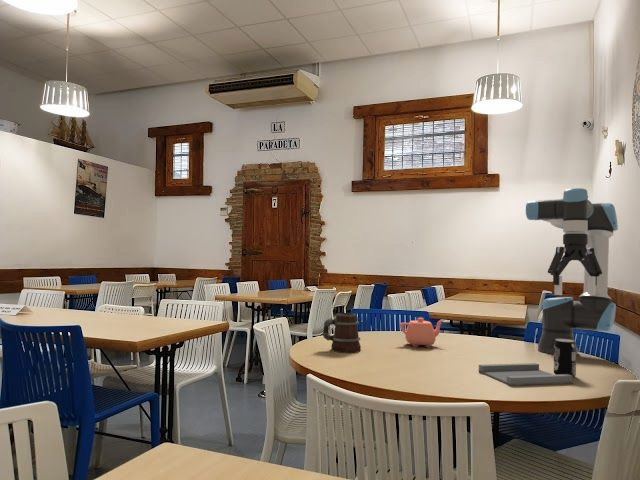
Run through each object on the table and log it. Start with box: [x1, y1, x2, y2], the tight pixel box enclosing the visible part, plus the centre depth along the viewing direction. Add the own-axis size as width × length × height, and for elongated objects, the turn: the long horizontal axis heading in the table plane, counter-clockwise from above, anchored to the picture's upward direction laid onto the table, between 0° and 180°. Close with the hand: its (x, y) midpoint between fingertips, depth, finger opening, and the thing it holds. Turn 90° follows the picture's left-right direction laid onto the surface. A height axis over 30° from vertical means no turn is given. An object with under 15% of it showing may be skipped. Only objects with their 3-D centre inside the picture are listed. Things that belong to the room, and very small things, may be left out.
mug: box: [321, 312, 362, 354], centre depth 196 cm, size 16×12×15 cm
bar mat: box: [478, 362, 574, 387], centre depth 156 cm, size 22×18×2 cm
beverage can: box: [553, 339, 577, 378], centre depth 160 cm, size 7×7×12 cm
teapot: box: [399, 317, 445, 348], centre depth 211 cm, size 13×20×12 cm, turn 93°
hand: (575, 295), depth 164 cm, fingers open, 13 cm apart
